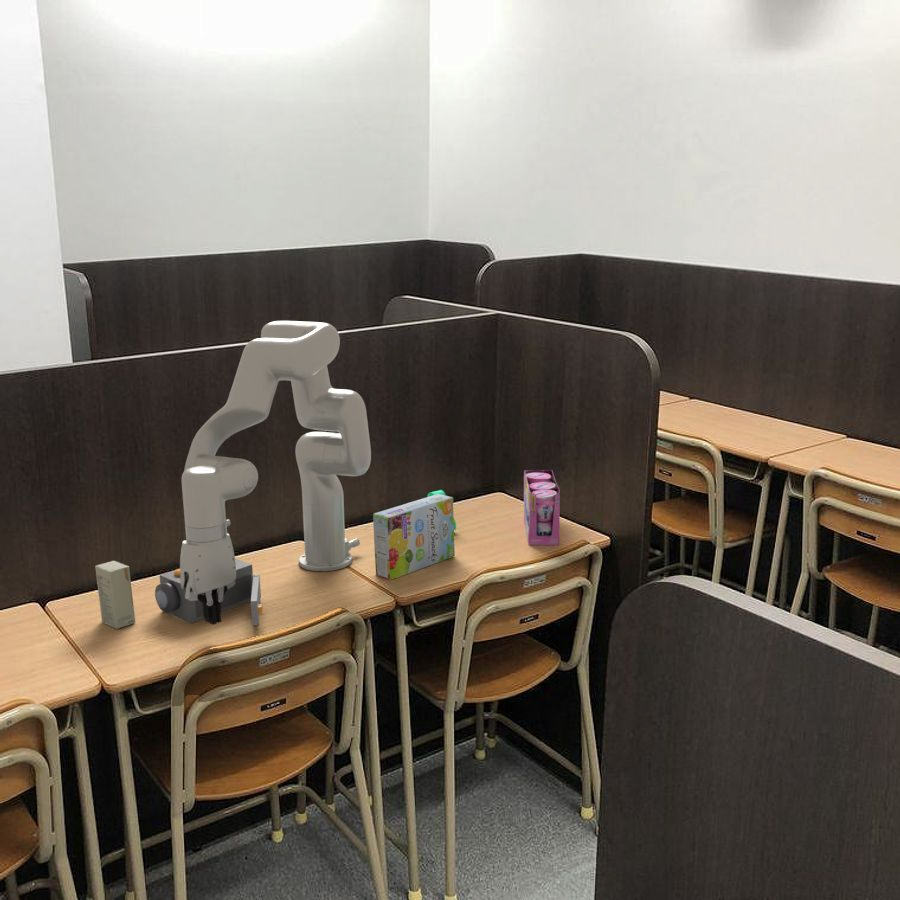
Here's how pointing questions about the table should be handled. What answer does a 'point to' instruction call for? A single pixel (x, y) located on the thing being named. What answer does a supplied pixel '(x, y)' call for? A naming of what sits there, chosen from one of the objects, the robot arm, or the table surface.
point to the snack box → (413, 536)
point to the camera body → (191, 611)
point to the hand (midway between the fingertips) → (213, 621)
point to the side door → (256, 600)
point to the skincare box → (115, 594)
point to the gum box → (541, 507)
